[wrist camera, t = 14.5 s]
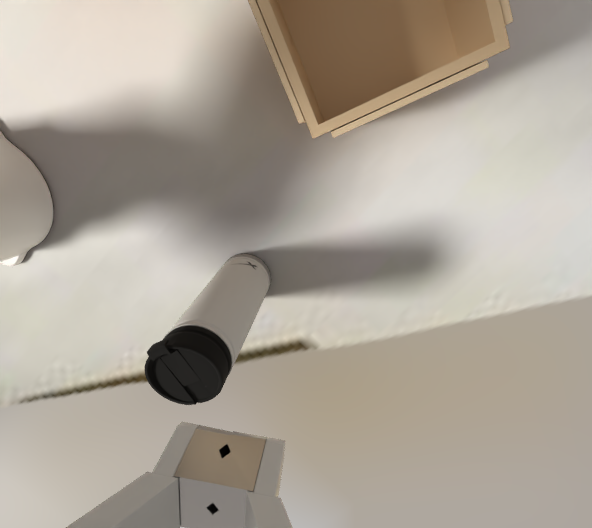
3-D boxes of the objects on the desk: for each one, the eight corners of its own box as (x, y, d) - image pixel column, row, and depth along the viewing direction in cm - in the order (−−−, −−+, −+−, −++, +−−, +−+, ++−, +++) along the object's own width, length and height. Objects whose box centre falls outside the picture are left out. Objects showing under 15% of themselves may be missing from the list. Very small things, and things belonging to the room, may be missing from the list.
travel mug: (253, 242, 45) (187, 332, 26) (280, 287, 47) (235, 401, 28) (212, 263, 47) (122, 361, 28) (239, 305, 48) (171, 423, 30)
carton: (318, 140, 39) (309, 149, 30) (253, -20, 35) (219, -68, 26) (476, 68, 35) (521, 52, 26) (426, -126, 30) (459, -229, 21)
